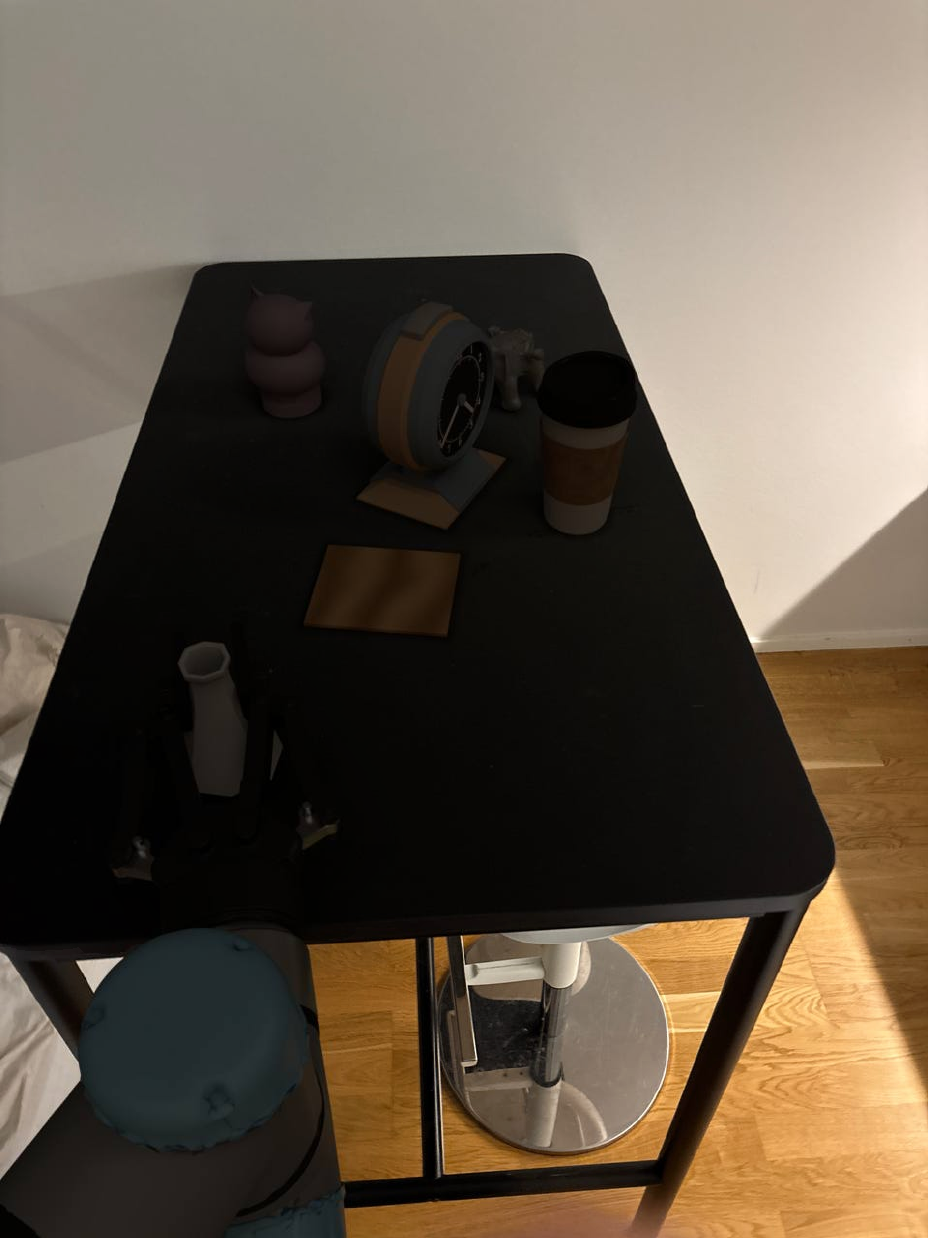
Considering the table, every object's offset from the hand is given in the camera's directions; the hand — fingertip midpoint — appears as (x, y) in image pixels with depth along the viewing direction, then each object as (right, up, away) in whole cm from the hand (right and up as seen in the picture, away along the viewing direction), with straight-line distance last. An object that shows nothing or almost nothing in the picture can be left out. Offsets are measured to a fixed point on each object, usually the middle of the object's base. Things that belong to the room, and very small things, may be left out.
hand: (210, 641), depth 68 cm
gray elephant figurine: (+21, +25, +37) cm, 50 cm away
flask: (+1, -8, +1) cm, 8 cm away
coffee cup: (+28, +11, +24) cm, 39 cm away
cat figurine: (-1, +25, +38) cm, 45 cm away
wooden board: (+11, +4, +17) cm, 20 cm away
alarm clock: (+14, +15, +28) cm, 35 cm away
